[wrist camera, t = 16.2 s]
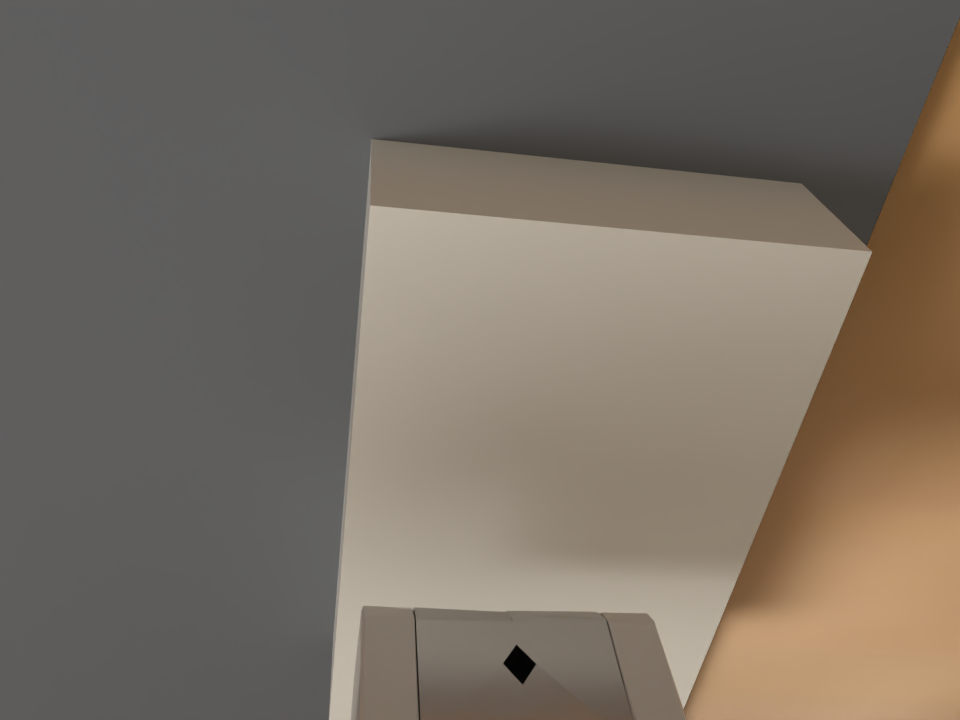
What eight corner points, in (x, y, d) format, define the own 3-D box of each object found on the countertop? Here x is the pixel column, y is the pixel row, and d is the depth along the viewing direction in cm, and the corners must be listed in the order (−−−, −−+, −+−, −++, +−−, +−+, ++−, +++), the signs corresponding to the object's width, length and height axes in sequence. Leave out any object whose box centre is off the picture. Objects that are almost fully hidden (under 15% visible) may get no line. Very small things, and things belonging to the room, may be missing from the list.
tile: (332, 636, 14) (640, 641, 15) (328, 740, 12) (671, 740, 13) (371, 139, 10) (801, 183, 10) (369, 205, 8) (871, 252, 9)
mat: (639, 770, 17) (644, 789, 17) (-21, 774, 16) (-29, 795, 15) (1013, -178, 9) (1039, -177, 9) (-339, -419, 7) (-376, -430, 7)
